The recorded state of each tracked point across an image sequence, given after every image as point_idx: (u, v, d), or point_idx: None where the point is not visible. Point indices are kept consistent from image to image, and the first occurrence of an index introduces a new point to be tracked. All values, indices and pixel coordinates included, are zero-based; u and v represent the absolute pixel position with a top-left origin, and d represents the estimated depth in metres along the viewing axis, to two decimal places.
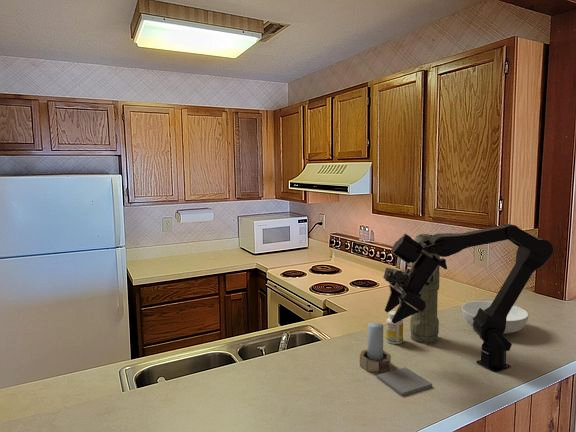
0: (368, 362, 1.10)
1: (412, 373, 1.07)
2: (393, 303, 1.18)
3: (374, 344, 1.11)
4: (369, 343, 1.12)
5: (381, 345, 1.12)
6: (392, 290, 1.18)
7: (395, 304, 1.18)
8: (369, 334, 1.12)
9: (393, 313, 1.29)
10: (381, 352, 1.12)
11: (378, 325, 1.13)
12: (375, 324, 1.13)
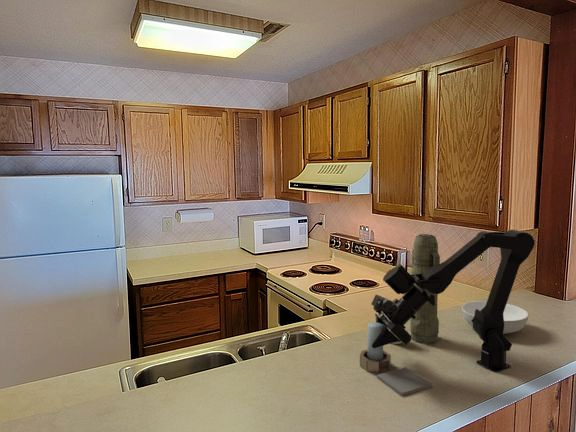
0: (368, 362, 1.10)
1: (412, 373, 1.07)
2: None
3: None
4: (369, 343, 1.12)
5: None
6: (378, 320, 1.16)
7: None
8: (369, 334, 1.12)
9: None
10: (381, 352, 1.12)
11: (378, 325, 1.12)
12: (375, 324, 1.13)
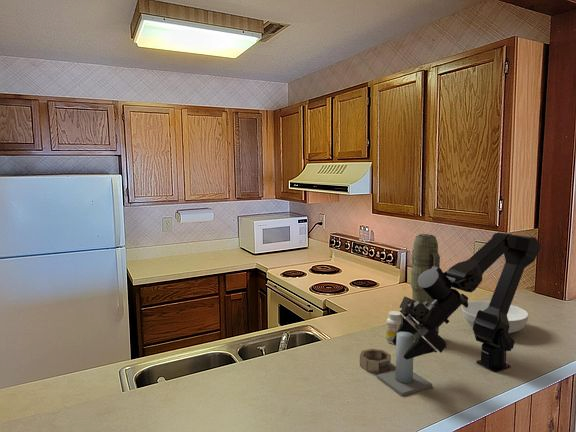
0: (368, 362, 1.10)
1: None
2: None
3: None
4: (398, 354, 1.03)
5: None
6: (404, 321, 1.08)
7: None
8: (398, 344, 1.03)
9: (393, 313, 1.29)
10: (411, 364, 1.02)
11: (408, 335, 1.03)
12: (405, 334, 1.04)
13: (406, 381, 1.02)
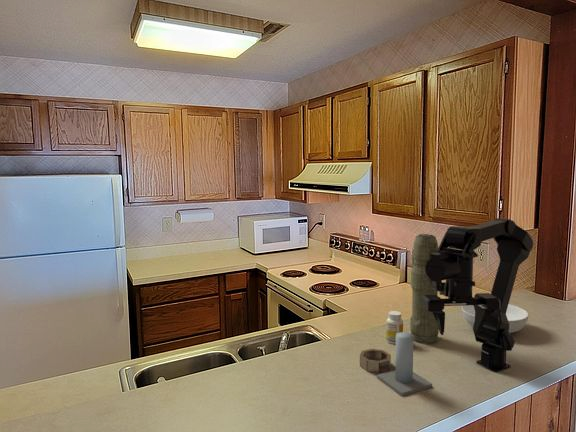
0: (368, 362, 1.10)
1: None
2: (477, 321, 1.03)
3: (403, 356, 1.02)
4: (398, 355, 1.03)
5: (411, 357, 1.02)
6: (474, 307, 1.05)
7: (478, 322, 1.02)
8: (398, 345, 1.02)
9: (393, 313, 1.29)
10: (411, 365, 1.02)
11: (407, 336, 1.03)
12: (404, 335, 1.04)
13: (406, 382, 1.02)
